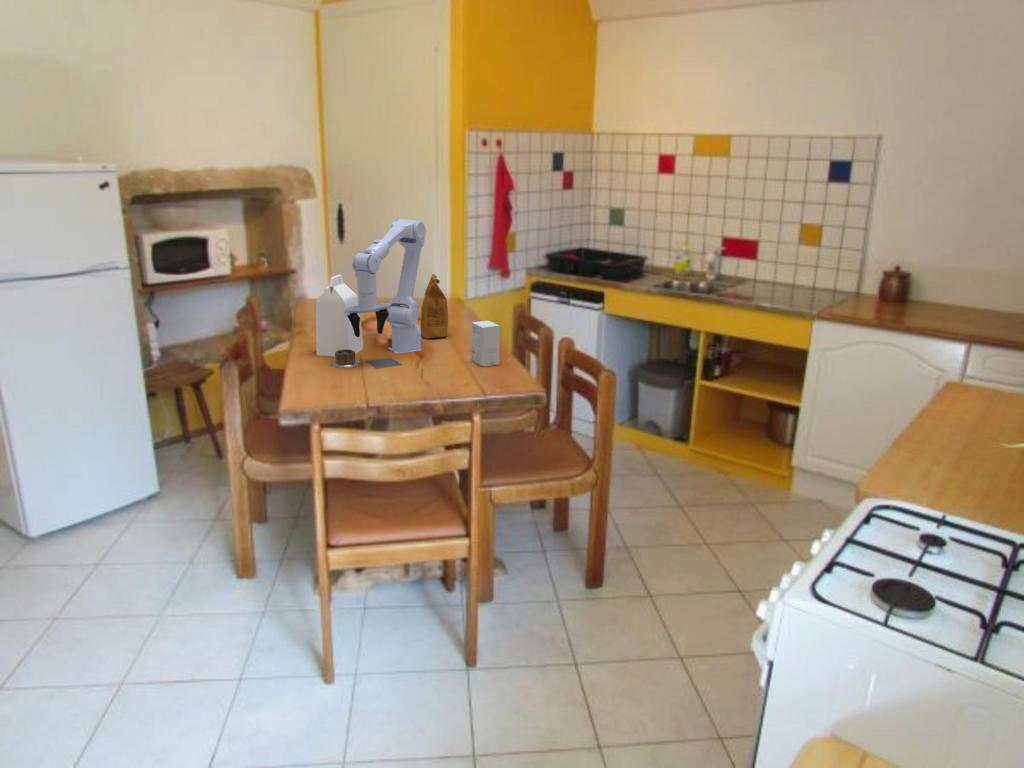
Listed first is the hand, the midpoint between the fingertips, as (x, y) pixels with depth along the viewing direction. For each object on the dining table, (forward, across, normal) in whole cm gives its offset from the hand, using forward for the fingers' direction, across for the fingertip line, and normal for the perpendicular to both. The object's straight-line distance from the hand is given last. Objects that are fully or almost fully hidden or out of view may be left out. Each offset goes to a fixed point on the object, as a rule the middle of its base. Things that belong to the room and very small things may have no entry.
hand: (368, 334), depth 236 cm
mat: (+10, -4, +2) cm, 11 cm away
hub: (+10, +7, -3) cm, 12 cm away
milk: (+10, +3, -17) cm, 20 cm away
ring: (+9, +7, -3) cm, 12 cm away
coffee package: (+10, -36, -23) cm, 44 cm away
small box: (+10, -34, +16) cm, 39 cm away
